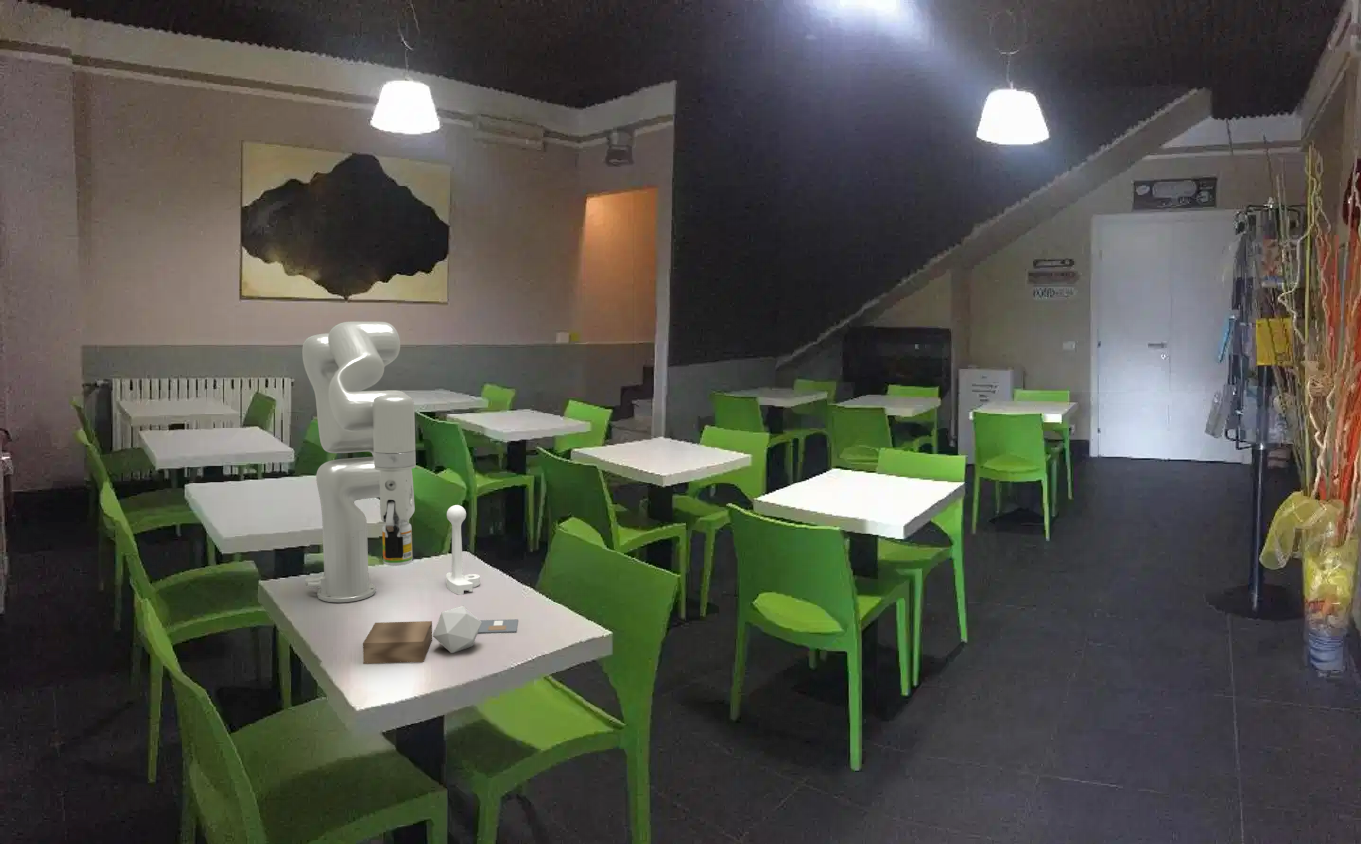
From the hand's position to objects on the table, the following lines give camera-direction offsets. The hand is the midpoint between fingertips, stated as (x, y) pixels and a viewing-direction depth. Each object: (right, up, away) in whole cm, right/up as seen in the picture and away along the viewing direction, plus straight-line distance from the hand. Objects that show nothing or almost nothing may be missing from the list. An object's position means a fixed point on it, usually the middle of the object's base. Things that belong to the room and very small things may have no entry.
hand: (397, 552), depth 172 cm
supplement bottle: (0, -2, 0) cm, 2 cm away
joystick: (+3, -15, +42) cm, 45 cm away
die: (+10, -20, +5) cm, 23 cm away
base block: (0, -20, +2) cm, 20 cm away
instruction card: (+16, -18, +16) cm, 29 cm away
